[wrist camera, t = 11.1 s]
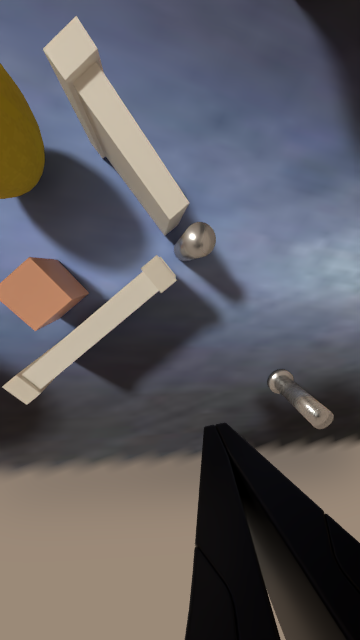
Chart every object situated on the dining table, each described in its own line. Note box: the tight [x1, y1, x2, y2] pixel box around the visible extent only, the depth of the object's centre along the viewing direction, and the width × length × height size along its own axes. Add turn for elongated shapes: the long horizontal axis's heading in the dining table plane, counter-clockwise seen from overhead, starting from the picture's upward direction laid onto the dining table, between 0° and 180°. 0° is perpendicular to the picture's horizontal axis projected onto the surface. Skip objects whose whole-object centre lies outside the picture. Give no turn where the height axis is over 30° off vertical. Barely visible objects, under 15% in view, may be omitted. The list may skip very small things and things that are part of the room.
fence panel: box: [43, 16, 189, 236], centre depth 10 cm, size 2×7×5 cm, turn 38°
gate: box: [2, 255, 177, 405], centre depth 12 cm, size 10×2×5 cm, turn 129°
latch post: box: [267, 369, 334, 429], centre depth 16 cm, size 2×2×5 cm
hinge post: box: [174, 222, 216, 261], centre depth 12 cm, size 2×2×5 cm
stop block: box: [0, 257, 89, 331], centre depth 12 cm, size 3×3×3 cm
